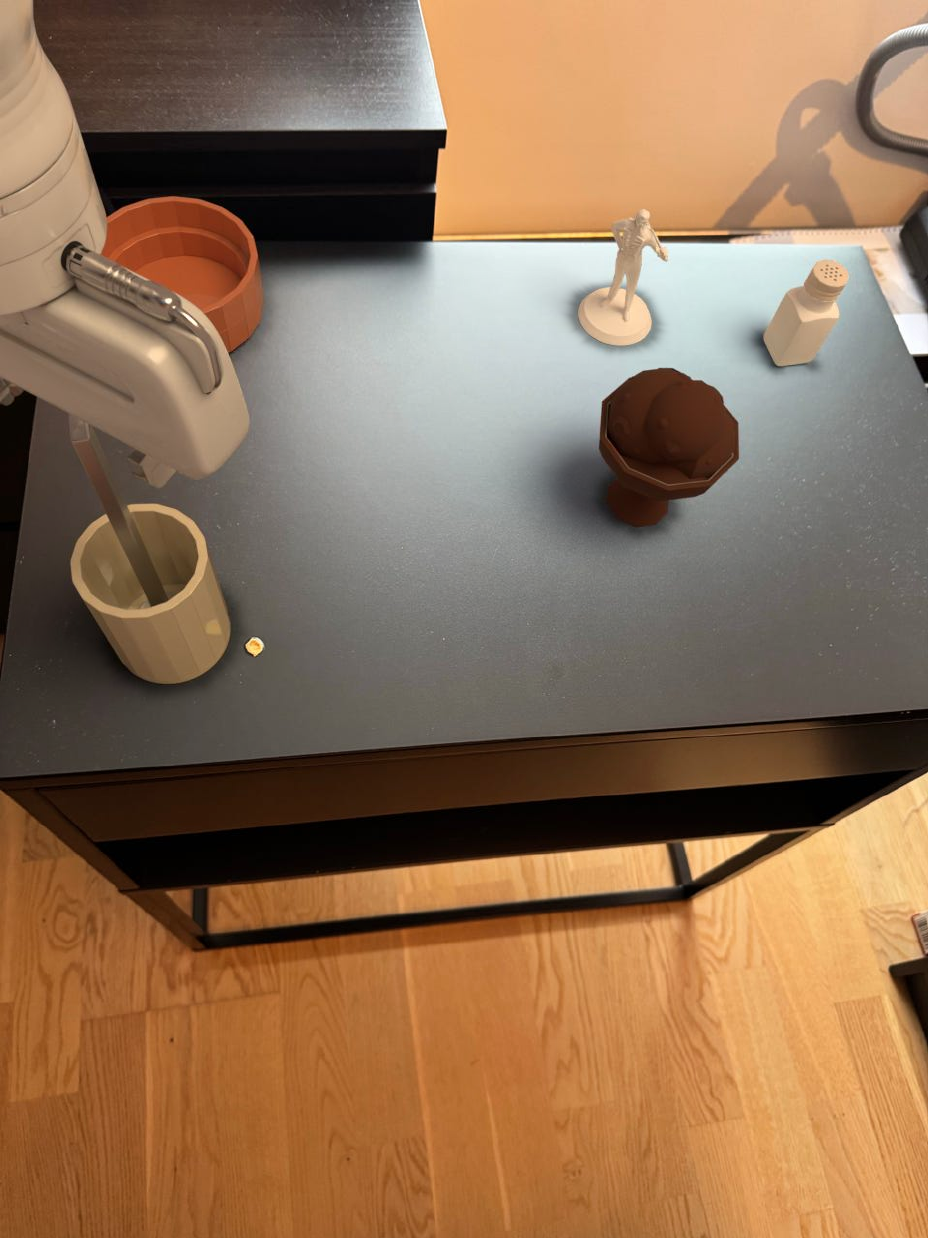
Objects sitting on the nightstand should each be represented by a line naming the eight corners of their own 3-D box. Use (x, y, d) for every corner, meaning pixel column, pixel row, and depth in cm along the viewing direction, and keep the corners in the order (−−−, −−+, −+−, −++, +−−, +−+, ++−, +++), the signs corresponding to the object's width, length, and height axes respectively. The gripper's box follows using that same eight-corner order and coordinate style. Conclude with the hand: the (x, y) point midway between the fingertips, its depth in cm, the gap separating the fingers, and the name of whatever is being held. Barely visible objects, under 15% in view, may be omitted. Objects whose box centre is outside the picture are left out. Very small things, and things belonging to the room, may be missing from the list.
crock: (121, 695, 65) (76, 630, 55) (109, 593, 69) (65, 514, 59) (239, 671, 67) (216, 603, 57) (221, 573, 70) (197, 492, 60)
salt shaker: (759, 337, 86) (801, 258, 78) (796, 332, 87) (842, 253, 79) (774, 369, 85) (819, 292, 76) (813, 364, 86) (861, 287, 77)
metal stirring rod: (144, 660, 66) (35, 468, 45) (137, 607, 67) (30, 399, 46) (205, 648, 66) (128, 454, 45) (197, 596, 68) (118, 386, 47)
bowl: (110, 380, 77) (91, 329, 72) (94, 261, 83) (75, 205, 78) (276, 356, 80) (269, 306, 75) (250, 243, 86) (242, 188, 81)
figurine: (562, 315, 85) (589, 207, 75) (608, 278, 88) (640, 168, 77) (621, 357, 84) (658, 254, 73) (666, 318, 86) (708, 212, 76)
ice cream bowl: (724, 499, 78) (797, 381, 64) (646, 579, 73) (707, 470, 60) (629, 426, 80) (680, 298, 67) (548, 499, 76) (585, 378, 63)
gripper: (258, 261, 33) (289, 479, 46) (-172, 52, 36) (-34, 310, 49) (151, 373, 31) (215, 572, 43) (-305, 137, 34) (-122, 387, 46)
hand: (80, 431), depth 46 cm, fingers open, 8 cm apart
